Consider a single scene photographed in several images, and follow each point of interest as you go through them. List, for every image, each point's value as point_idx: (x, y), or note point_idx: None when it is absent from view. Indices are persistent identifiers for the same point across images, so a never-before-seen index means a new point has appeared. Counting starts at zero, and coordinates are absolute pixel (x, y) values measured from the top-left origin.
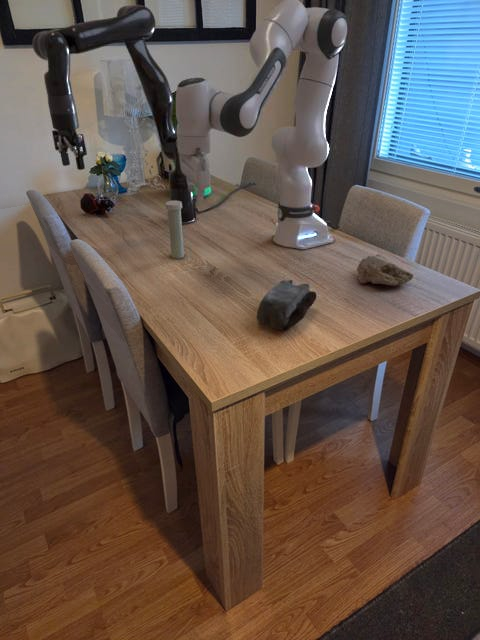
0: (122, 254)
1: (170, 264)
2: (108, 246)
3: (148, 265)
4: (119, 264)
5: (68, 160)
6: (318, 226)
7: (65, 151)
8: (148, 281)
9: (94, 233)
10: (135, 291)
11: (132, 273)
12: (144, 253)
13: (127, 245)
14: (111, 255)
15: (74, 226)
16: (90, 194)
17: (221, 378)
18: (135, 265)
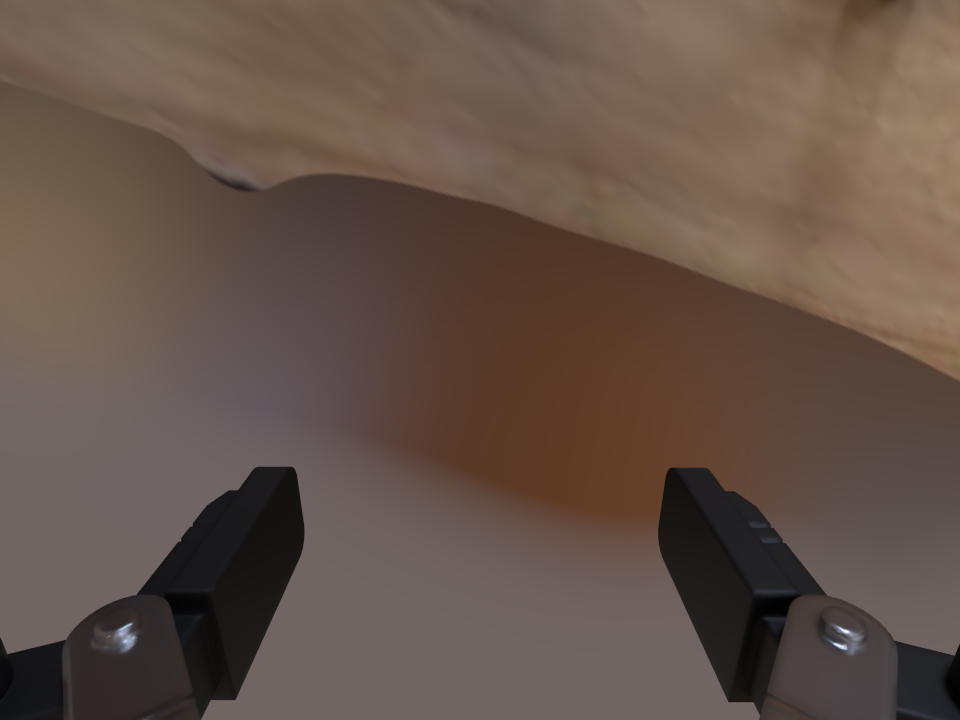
0: (617, 160)
1: (915, 71)
2: (475, 143)
3: (821, 159)
4: (693, 245)
5: (268, 510)
6: None
7: (185, 655)
8: (922, 268)
9: (243, 74)
10: (925, 354)
11: (810, 264)
12: (703, 68)
13: (543, 58)
14: (583, 206)
15: (51, 88)
16: None
17: None
18: (765, 202)
